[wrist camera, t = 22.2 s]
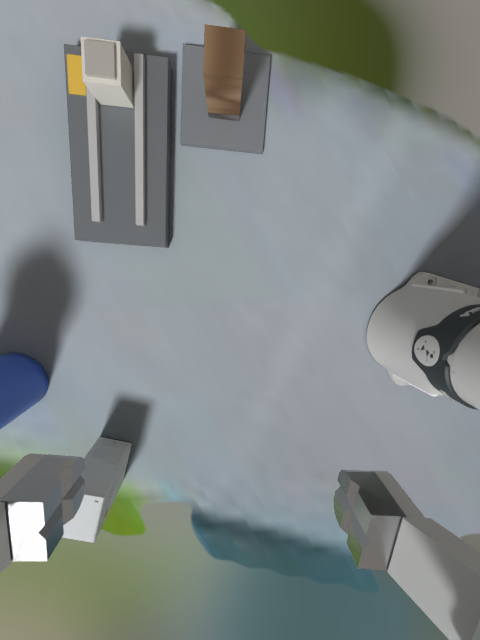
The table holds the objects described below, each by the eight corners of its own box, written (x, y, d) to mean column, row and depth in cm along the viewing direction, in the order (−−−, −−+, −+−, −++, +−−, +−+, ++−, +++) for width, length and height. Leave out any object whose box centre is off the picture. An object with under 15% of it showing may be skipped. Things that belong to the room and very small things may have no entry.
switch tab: (133, 70, 31) (118, 38, 26) (134, 108, 31) (119, 83, 27) (99, 65, 30) (78, 33, 26) (100, 104, 31) (80, 78, 27)
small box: (100, 435, 43) (60, 488, 33) (133, 442, 44) (104, 497, 33) (91, 474, 45) (51, 537, 34) (123, 480, 45) (93, 544, 35)
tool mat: (269, 59, 33) (270, 55, 32) (262, 154, 35) (262, 152, 35) (183, 47, 32) (183, 44, 32) (181, 145, 34) (180, 143, 34)
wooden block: (241, 85, 33) (245, 30, 25) (238, 121, 34) (242, 77, 26) (210, 82, 33) (204, 24, 25) (208, 117, 33) (202, 72, 26)
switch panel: (171, 69, 33) (166, 51, 30) (168, 247, 37) (163, 246, 34) (73, 57, 32) (59, 38, 29) (83, 240, 36) (71, 239, 34)
